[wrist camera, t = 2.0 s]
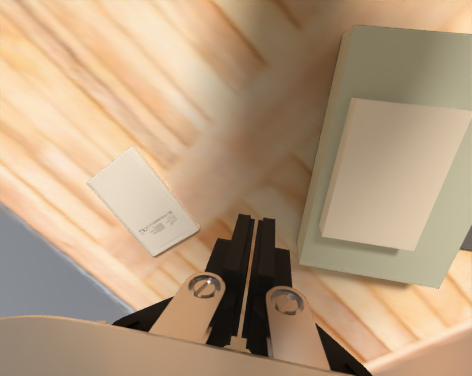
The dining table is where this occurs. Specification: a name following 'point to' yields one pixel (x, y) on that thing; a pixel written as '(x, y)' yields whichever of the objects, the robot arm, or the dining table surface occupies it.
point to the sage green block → (402, 91)
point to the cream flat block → (390, 171)
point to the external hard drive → (143, 202)
